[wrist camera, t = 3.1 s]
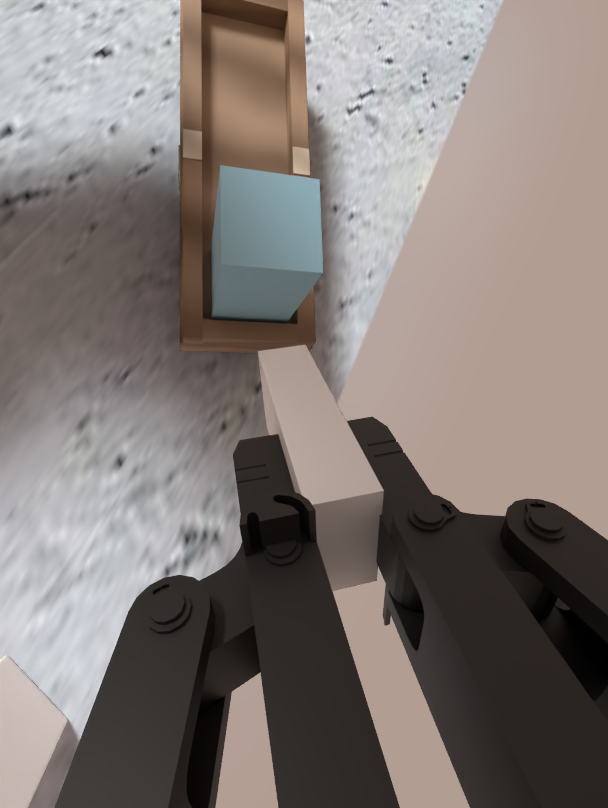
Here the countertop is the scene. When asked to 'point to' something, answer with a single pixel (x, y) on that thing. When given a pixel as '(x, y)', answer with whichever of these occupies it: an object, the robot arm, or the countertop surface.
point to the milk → (24, 735)
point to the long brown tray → (237, 146)
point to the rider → (264, 245)
